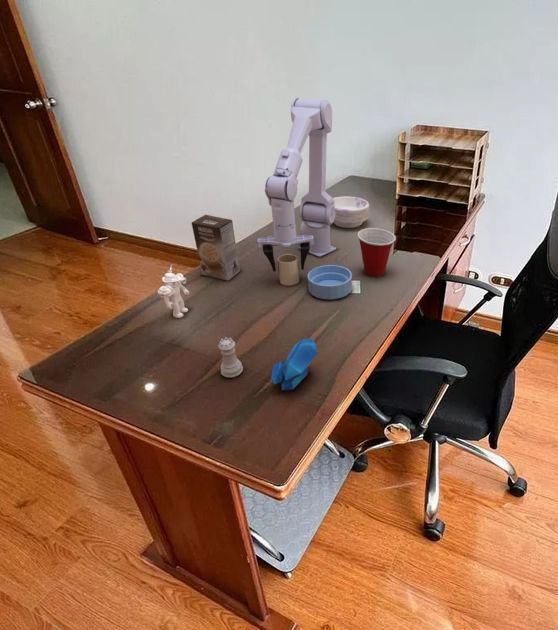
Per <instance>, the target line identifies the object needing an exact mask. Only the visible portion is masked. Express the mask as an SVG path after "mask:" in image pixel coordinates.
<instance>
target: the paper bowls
mask: <svg viewBox="0 0 558 630" xmlns="http://www.w3.org/2000/svg"><path fill="white" fill-rule="evenodd" d="M332 198H333V199H334V206H335V219H334V222H333V224H334V225H336V226H337V227H340V228H343V229H354V228H358V227H360V226H361V225H362V224H363V223H364V222H365V221H367V220H368V219H369V218H370V202H369V201H368V200H366V199H365V198H362V197H358V196H357V197H356V196H349V195H348V196H336V197H332Z"/></svg>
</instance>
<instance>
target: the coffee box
mask: <svg viewBox="0 0 558 630" xmlns="http://www.w3.org/2000/svg"><path fill="white" fill-rule="evenodd" d="M191 227H192V232H193V238H194V242H195V246H196V247H195V248H196V252H197V257H198V262H199V267H200V271H201V275H202V276H205V277H210V278H214V279H220V280H225V281H229V280H231V279H232V278H233V277H235V276H236V275H237V274H238V273H239V272H240V270H241V269H240V263H239V257H238V249H237V243H236V235H235V230H234V224H233V219H231V218H230V219H229V218H225V217H220V216H214V215H211V214H204V215H202V216H200V217H198V218H196V219H195V220H193V221H191Z"/></svg>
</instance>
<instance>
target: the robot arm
mask: <svg viewBox="0 0 558 630" xmlns="http://www.w3.org/2000/svg"><path fill="white" fill-rule="evenodd" d="M290 118H291V122H292V125H291V129H290V132H289V133H290V134H289V138H288V142H287V146H286V148H283V149H282V150H281V151H280V154H279V155H278V159H277V162H276V164H275V167H274V171H273V174H272V175H270V176H268V177H267V178H266V180H265V185H264V193H265V196H266V198H267V201H268V205H269V206H271V216H272V217H271V218H272V227H273V235H270V236H266V237H258V238H257V247H258V249H262V252H263V253H264V256H265V257H266V258H267V260H268V261H269V264H270V266H271V268H272V272H275V273H276V272H277V267H276V261H275V256H274V247H283V248H287V247H288V248H289V247H291V246H297V245H299V247H298V249H299V250H300V269H301V270H302V271H303V270H305V264H306V260H307V257H308V254H311V255H313V256H317V257H319V258H321V257H323V256H325V255H327V254H330V253H331V252H334V251H335V250H337V247H335V246H333V245H331V244H332V243H331V225H332V224H334V219H335V206H334V199H333V198H334V197H332V196H331V195H330V194H329V193H327V191H326V187H327V186H326V185H327V184H326V183H327V145H328V144H327V142H328V141H327V139H328V134H329V133H332V129H333V108H332V105H331V103H330V101H329V100H327V99H324V100H322V99H308V98H299V97H295V98H294V99H293V100H292V102H291V105H290ZM308 138H309V140H308ZM307 140H308V192H307V193H305V194H304V195H303V196H301V200H300V206H299V217H300V220H301V221H302V222H301V224H300V227H299V234H297V225H296V214H295V213H296V211H295V201H294V200H295V199H296V197H297V195H298V184H299V180H298V176H299V173H300V170H301V167H302V164H303V156H302V155H301V153H302V150H303V149H304V147H305V144H306V142H307Z"/></svg>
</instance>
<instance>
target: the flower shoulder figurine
mask: <svg viewBox="0 0 558 630" xmlns="http://www.w3.org/2000/svg"><path fill="white" fill-rule="evenodd" d="M161 280H162V282H163V283H164V285H161V286H160V287H159V289H158V290H157V294H158V296H159V297H160V298H161V299H163V301H164V303H165V307H166V308H167V310H170V311H171V310H173V311H172V316H173V317H174V318H176V319H180V318H183V317H184V315H185V314H184V313H188V311H189V309H188V308H187V307H185V302H184V298H183V297H182V295H181V291H182V292H183V294H184V295H187V296H189V295H190V290H188V289H187V288H186V287H185V284H186V283H187V277H184V275H183V273H180V272H178V273H176V274H175V273H173V267H172V264H170V268H169V269H167V272H166V273H165V274H164V276H162V277H161ZM183 284H184V285H183Z"/></svg>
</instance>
